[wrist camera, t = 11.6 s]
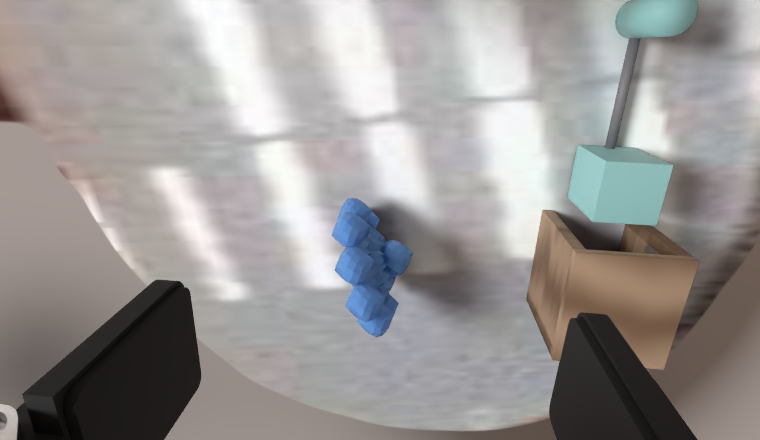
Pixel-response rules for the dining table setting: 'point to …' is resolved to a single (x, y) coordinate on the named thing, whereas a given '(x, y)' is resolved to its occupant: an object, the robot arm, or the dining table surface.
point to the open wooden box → (611, 287)
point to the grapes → (368, 266)
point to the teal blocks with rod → (619, 164)
